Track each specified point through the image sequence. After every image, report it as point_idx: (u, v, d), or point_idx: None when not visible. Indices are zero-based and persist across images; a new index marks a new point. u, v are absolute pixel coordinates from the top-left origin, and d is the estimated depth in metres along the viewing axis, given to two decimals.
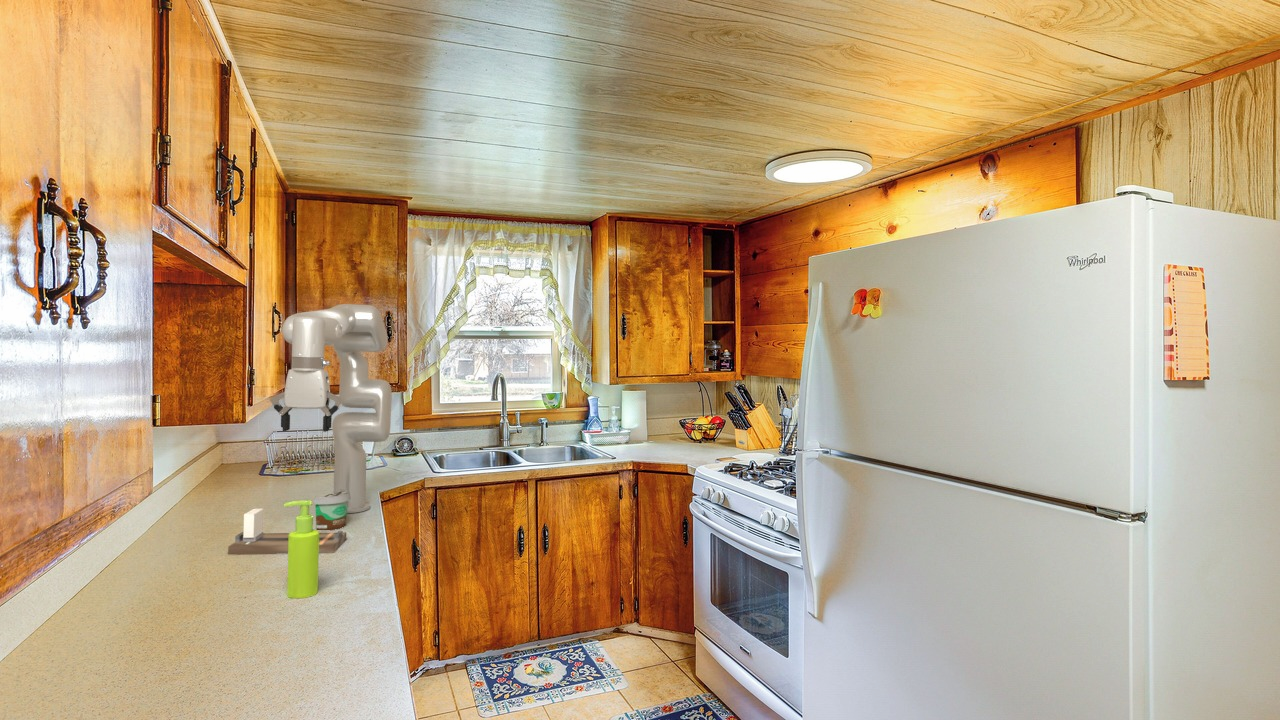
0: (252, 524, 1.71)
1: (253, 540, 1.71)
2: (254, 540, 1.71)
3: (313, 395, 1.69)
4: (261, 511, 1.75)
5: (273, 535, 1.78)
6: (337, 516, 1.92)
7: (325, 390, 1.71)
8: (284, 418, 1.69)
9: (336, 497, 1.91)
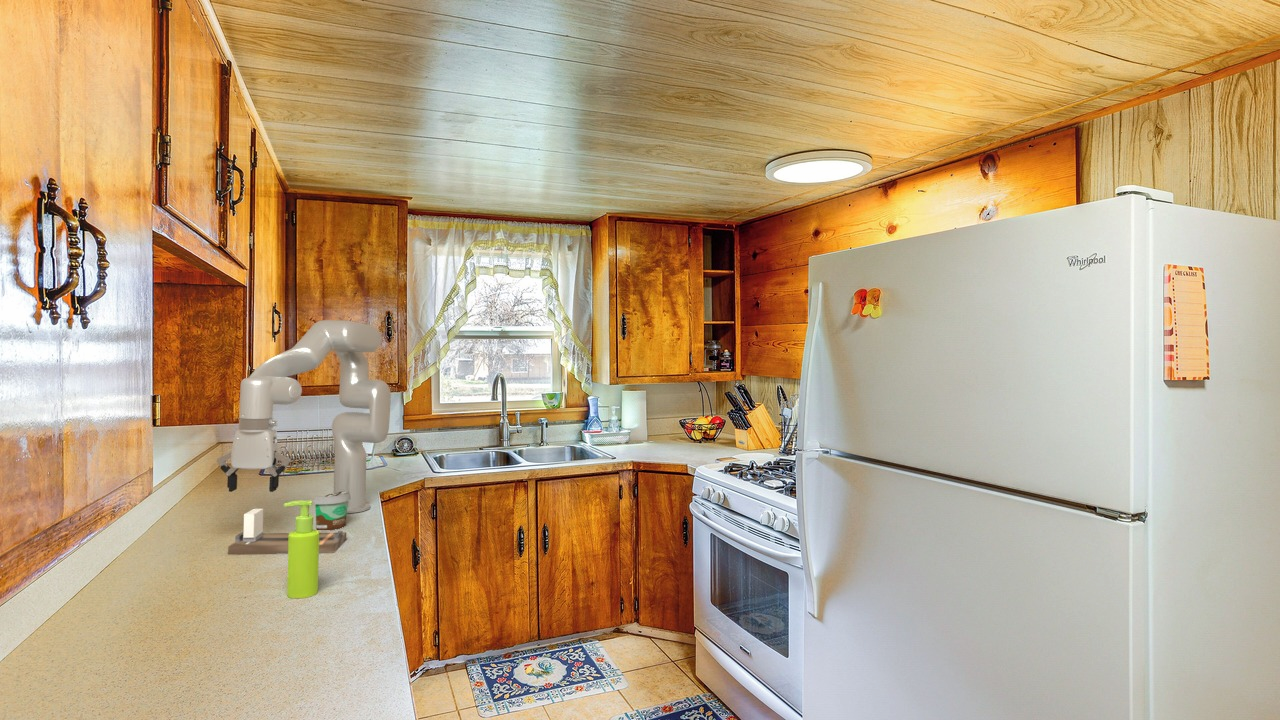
0: (252, 524, 1.71)
1: (253, 540, 1.71)
2: (254, 540, 1.71)
3: (260, 456, 1.71)
4: (261, 511, 1.75)
5: (273, 535, 1.78)
6: (337, 516, 1.92)
7: (272, 451, 1.72)
8: (230, 479, 1.70)
9: (336, 497, 1.91)
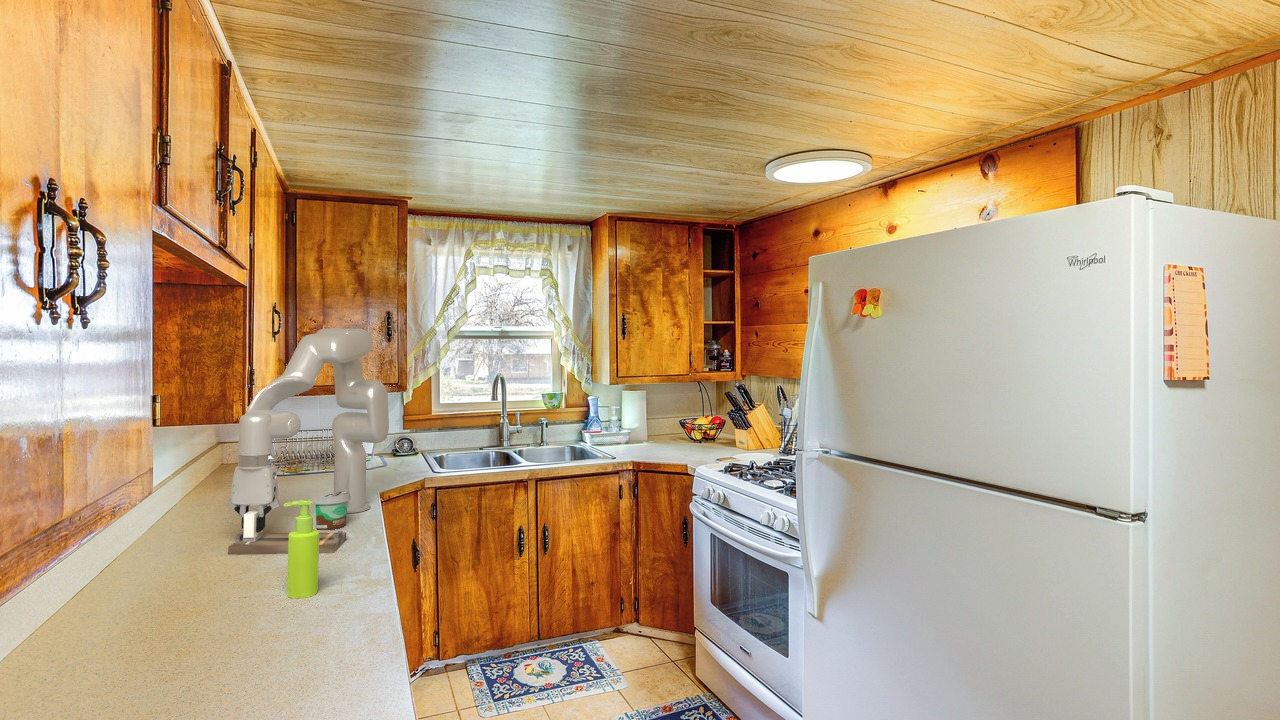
0: (252, 524, 1.71)
1: (253, 540, 1.71)
2: (254, 540, 1.71)
3: (260, 492, 1.71)
4: None
5: (273, 535, 1.78)
6: (337, 516, 1.92)
7: (272, 487, 1.73)
8: None
9: (336, 497, 1.91)
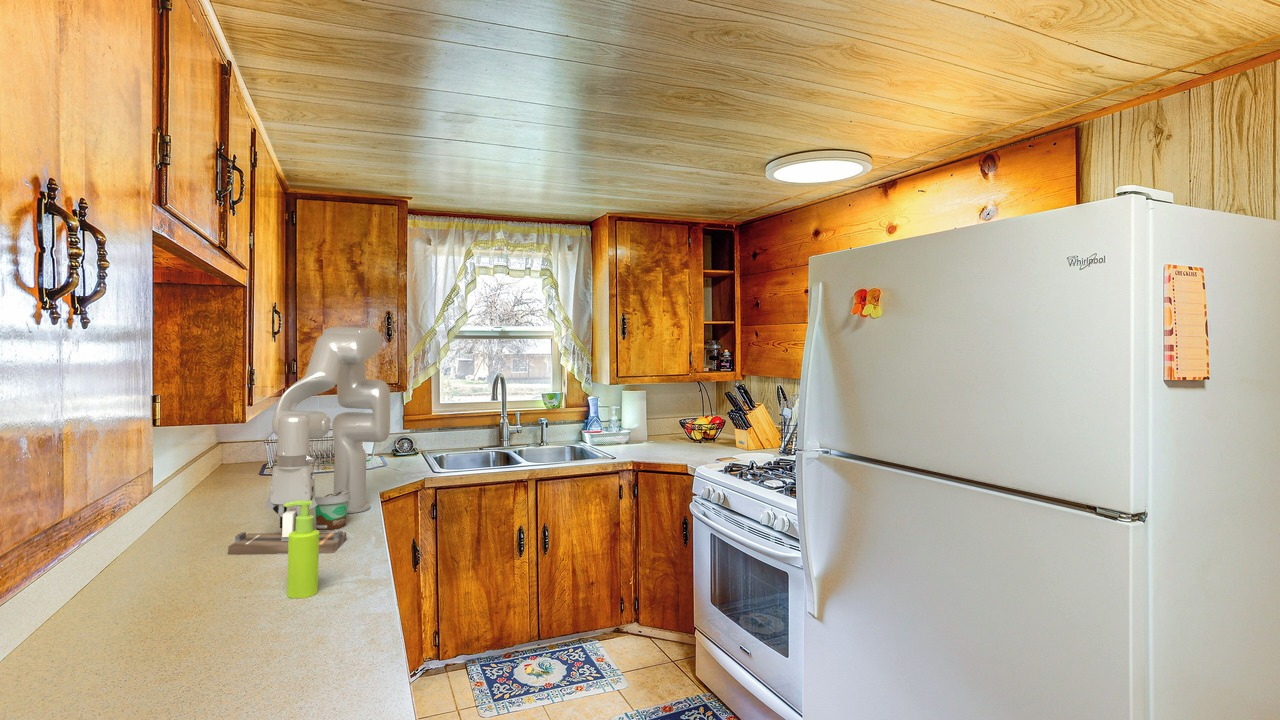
0: (291, 524, 1.72)
1: None
2: None
3: (298, 492, 1.73)
4: None
5: (273, 535, 1.78)
6: (337, 516, 1.92)
7: (310, 487, 1.74)
8: None
9: (336, 497, 1.91)
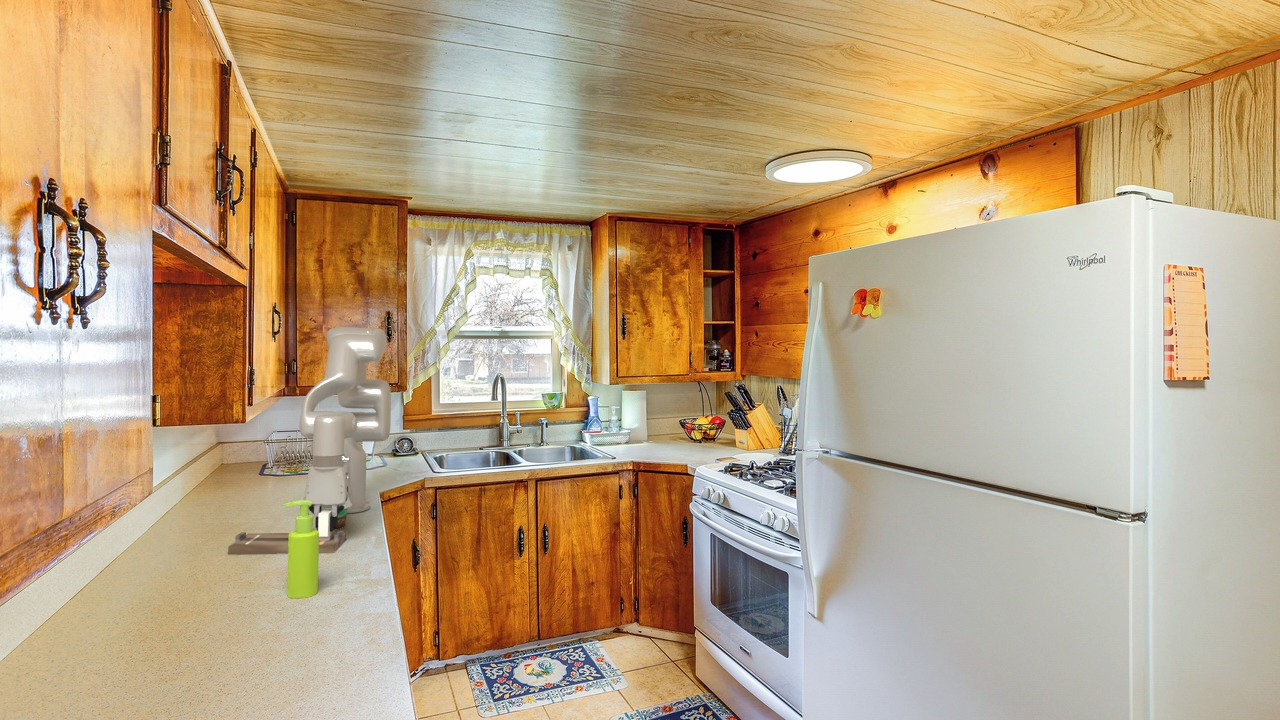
0: (326, 523, 1.74)
1: (327, 539, 1.74)
2: (328, 539, 1.74)
3: (333, 492, 1.74)
4: None
5: (273, 535, 1.78)
6: None
7: (345, 486, 1.76)
8: None
9: None
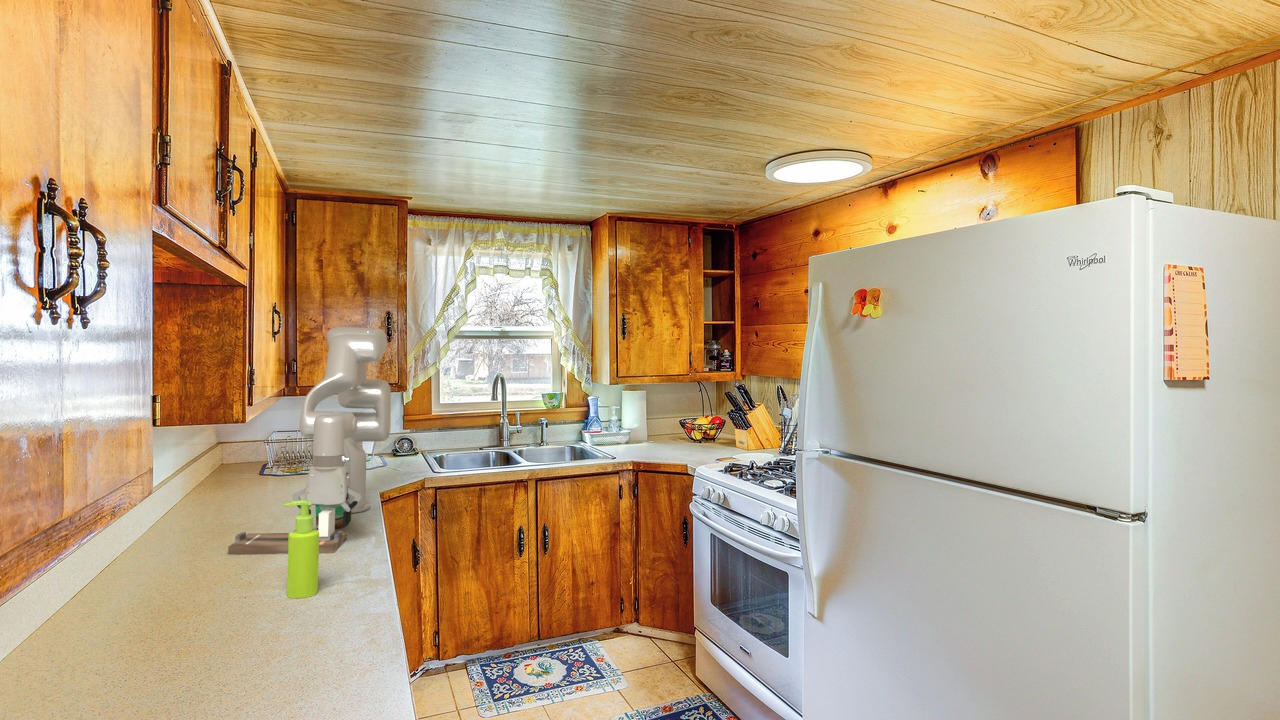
0: (326, 523, 1.74)
1: (327, 539, 1.74)
2: (328, 539, 1.74)
3: (334, 492, 1.74)
4: (333, 510, 1.78)
5: (273, 535, 1.78)
6: (337, 516, 1.92)
7: (345, 486, 1.76)
8: None
9: None
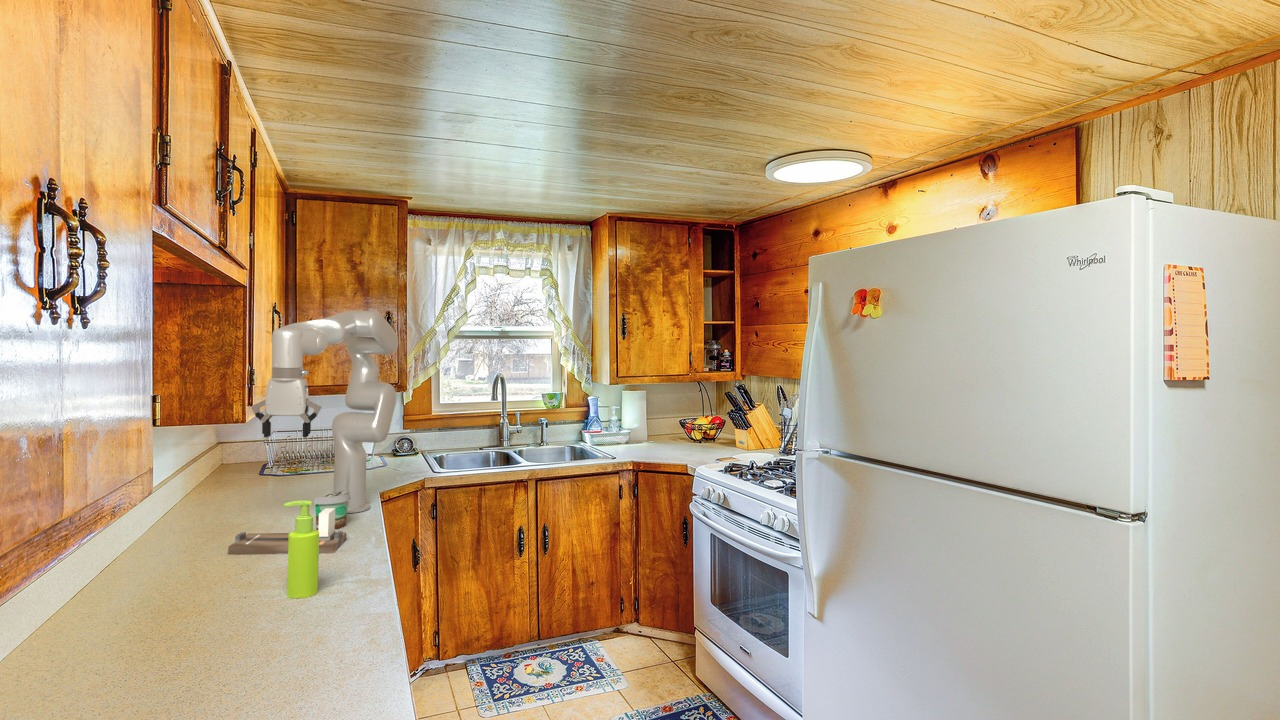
0: (326, 523, 1.74)
1: (327, 539, 1.74)
2: (328, 539, 1.74)
3: (293, 403, 1.79)
4: (333, 510, 1.78)
5: (273, 535, 1.78)
6: (337, 516, 1.92)
7: (304, 398, 1.80)
8: (265, 425, 1.79)
9: (336, 497, 1.91)
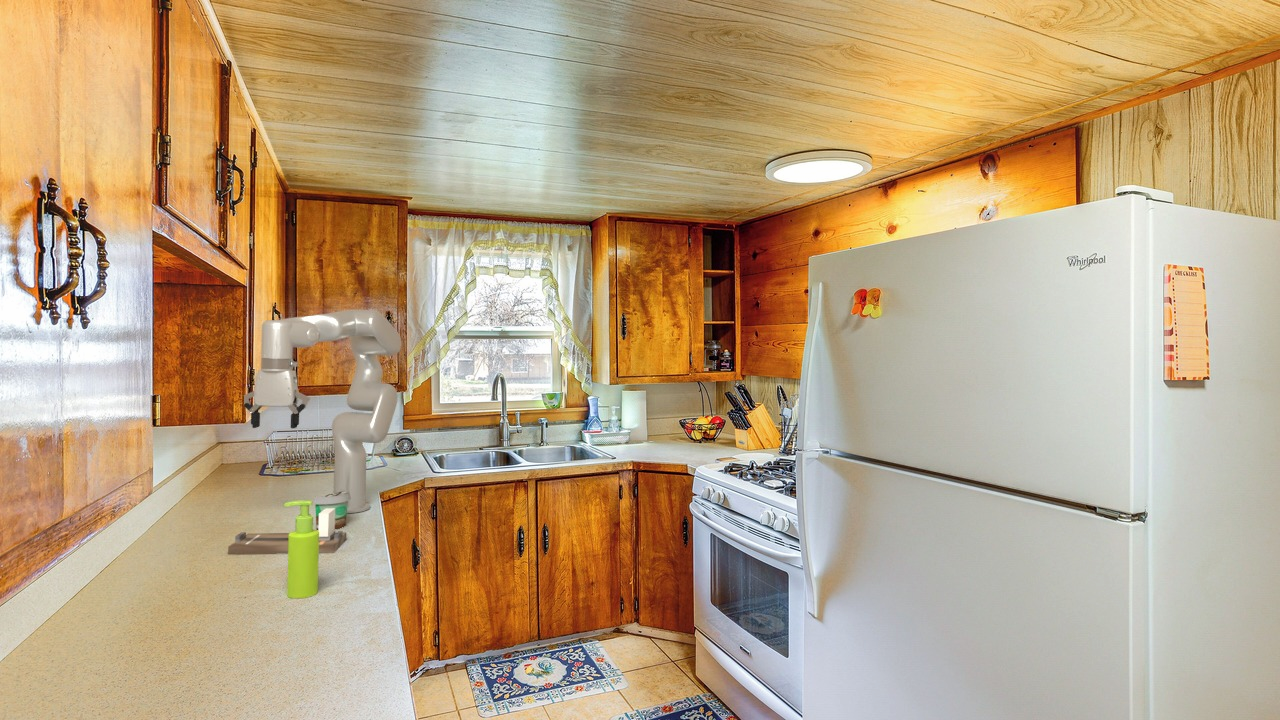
0: (326, 523, 1.74)
1: (327, 539, 1.74)
2: (328, 539, 1.74)
3: (281, 394, 1.80)
4: (333, 510, 1.78)
5: (273, 535, 1.78)
6: (337, 516, 1.92)
7: (293, 389, 1.81)
8: (254, 416, 1.80)
9: (336, 497, 1.91)
